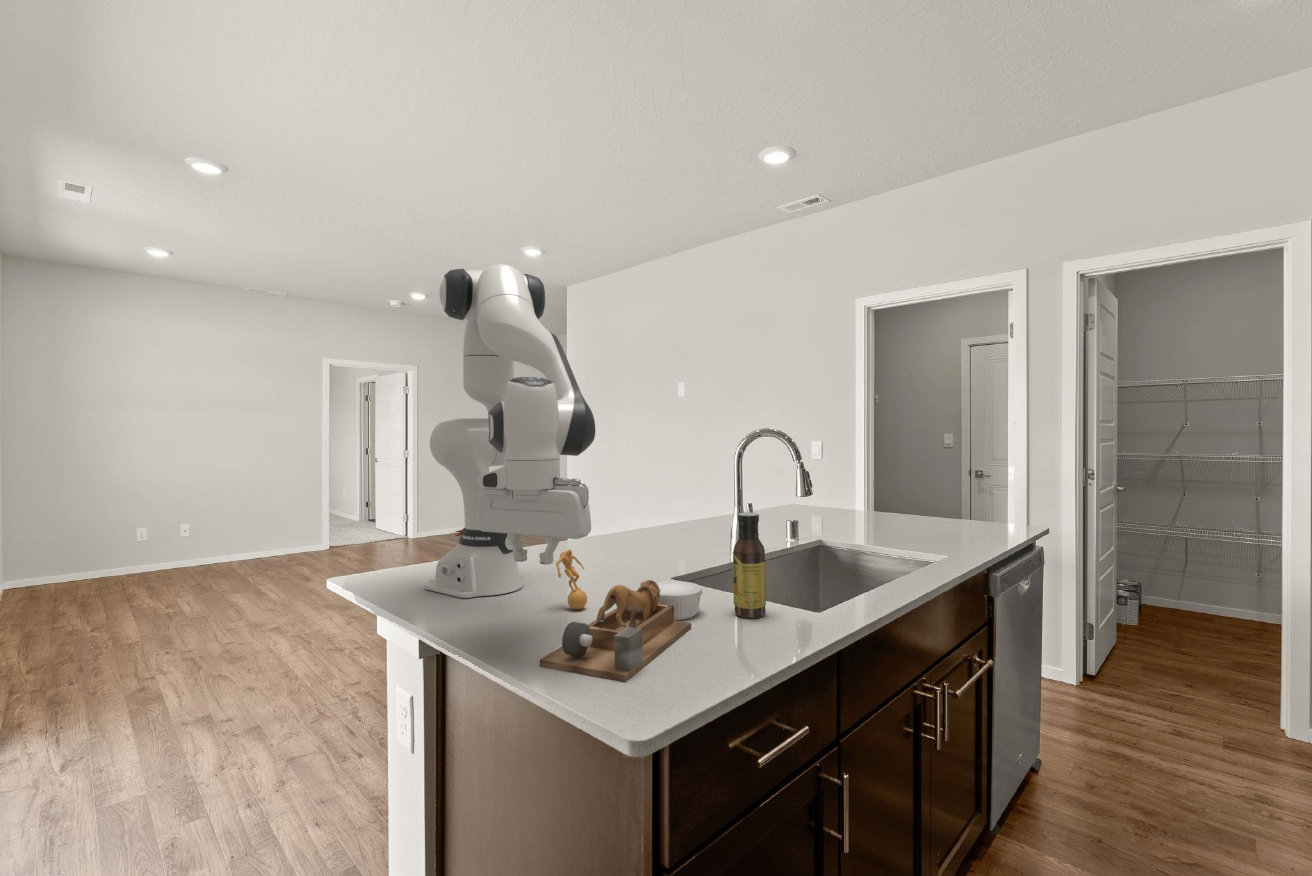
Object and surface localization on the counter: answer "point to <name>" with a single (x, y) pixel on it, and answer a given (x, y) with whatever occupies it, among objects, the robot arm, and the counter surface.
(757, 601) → the sauce bottle
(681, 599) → the ramekin
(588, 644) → the wheel
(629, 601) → the lion figurine
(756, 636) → the counter surface
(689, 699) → the counter surface
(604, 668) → the chassis
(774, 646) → the counter surface
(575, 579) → the figurine
